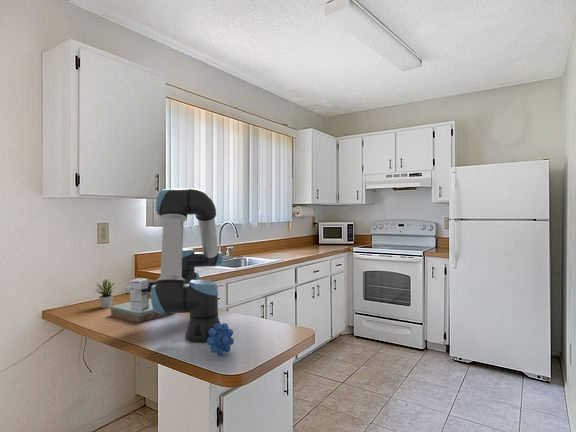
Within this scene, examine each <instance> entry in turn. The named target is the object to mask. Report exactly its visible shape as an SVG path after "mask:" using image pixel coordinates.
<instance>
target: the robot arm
mask: <svg viewBox="0 0 576 432" xmlns="http://www.w3.org/2000/svg"><path fill="white" fill-rule="evenodd" d="M156 196H157V197H156V199H155V200H156V201H155V212H156V215H157V216H159V219H160V220H161V221H162V240H161V241H162V243H161V257H160V259H161V260H160V261H161V262H160V276H159V277H158V278H157V279H156V280H150V281H148V287H147V286H146V287H141V288H136V289H134V295H139V294H143V293H148V294H149V293H150V299H151V303H152V307H153V309H154V311H155V312H156V313H165V314H167V315H169V314H168V313H171V314H183V313H184V314H185V313H189V321H188V325H187V328H186V331H185V340H186V341H188V342H192V343H207V339H208V338H209V337H211V336H210V335H209V330H210V329H211V328H214V326H215V324H216V323H220V324H221V321H220V318H219V292H218V291H219V290H218V284H217V283H216V282H214V281H212V280H206V279H201V278H200V275H199V272H198V271H196V269H195V268H207V267H208V268H211V267H212V268H213V267H214V268H215V267H221V266H223V263H224V255H223V252H221V251H219V247H218V246H219V245H218V239H217V229H216V227H217V226H216V219H215V218H217V217H216V216H217V208H216V205H215V203H214V201H213V200H212V198H211V197H210V196H209V195H208V194H207V193H205V192H204V191H203V190H202V189H199V188H165V189H161V190H160V191H159V193H158V194H157V195H156ZM188 215H191V216H192V215H195V218H196V219H197V220H198V221H197V222H198V226H199V234H200V240H201V247H202V252H201V251H200V252H198V251H197V252H195V249H194V248H184V247H183V246H184V245H183V244H184V223H185V222H186V221H187V220H188ZM127 293H129V294H130V285H128V286H123V294H127Z"/></svg>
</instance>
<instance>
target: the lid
mask: <svg viewBox="0 0 576 432" xmlns="http://www.w3.org/2000/svg"><path fill="white" fill-rule="evenodd" d="M109 309H110V311H111V310H115V311H119V312H123V313H128V314H132V315H136V316H142V315H146V314H149V313H153V312H155V311H154V309H153V307H152V303H151V297H150V298H149V309H148V310H146V311H144V312H142V313H136V312H131V304H130V301H128V302H124V303H120V304H114V305H111V306H110V307H109Z"/></svg>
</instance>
